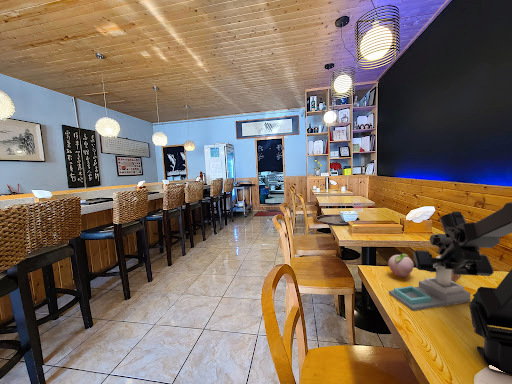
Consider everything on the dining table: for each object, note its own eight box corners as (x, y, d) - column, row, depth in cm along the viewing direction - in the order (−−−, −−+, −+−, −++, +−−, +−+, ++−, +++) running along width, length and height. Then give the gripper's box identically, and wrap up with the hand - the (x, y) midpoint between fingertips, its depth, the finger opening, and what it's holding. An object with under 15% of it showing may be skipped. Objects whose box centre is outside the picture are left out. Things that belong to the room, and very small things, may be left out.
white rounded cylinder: (453, 290, 71) (454, 261, 70) (438, 288, 73) (439, 260, 72) (446, 283, 76) (446, 255, 75) (432, 281, 77) (432, 254, 76)
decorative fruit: (392, 270, 94) (392, 247, 93) (415, 275, 88) (415, 252, 87) (385, 277, 88) (385, 253, 87) (409, 284, 82) (409, 259, 81)
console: (413, 310, 67) (413, 297, 66) (388, 293, 77) (388, 281, 76) (470, 301, 70) (470, 288, 69) (439, 286, 80) (439, 274, 79)
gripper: (488, 229, 65) (467, 252, 76) (415, 227, 72) (405, 248, 83) (507, 265, 58) (480, 284, 70) (423, 259, 65) (411, 277, 76)
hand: (441, 271), depth 75 cm, fingers open, 6 cm apart
